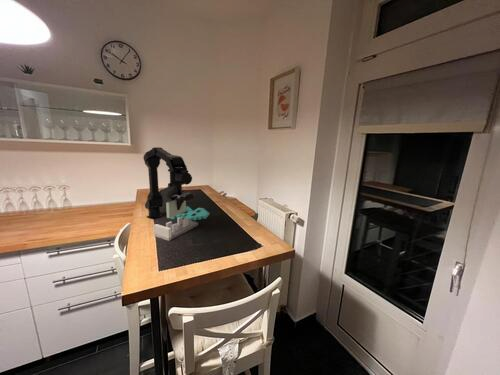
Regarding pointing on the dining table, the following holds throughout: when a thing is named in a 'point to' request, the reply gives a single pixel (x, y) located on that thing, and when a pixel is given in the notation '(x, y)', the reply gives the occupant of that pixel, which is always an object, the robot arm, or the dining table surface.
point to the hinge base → (173, 228)
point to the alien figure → (193, 214)
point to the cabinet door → (174, 208)
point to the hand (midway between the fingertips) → (176, 209)
